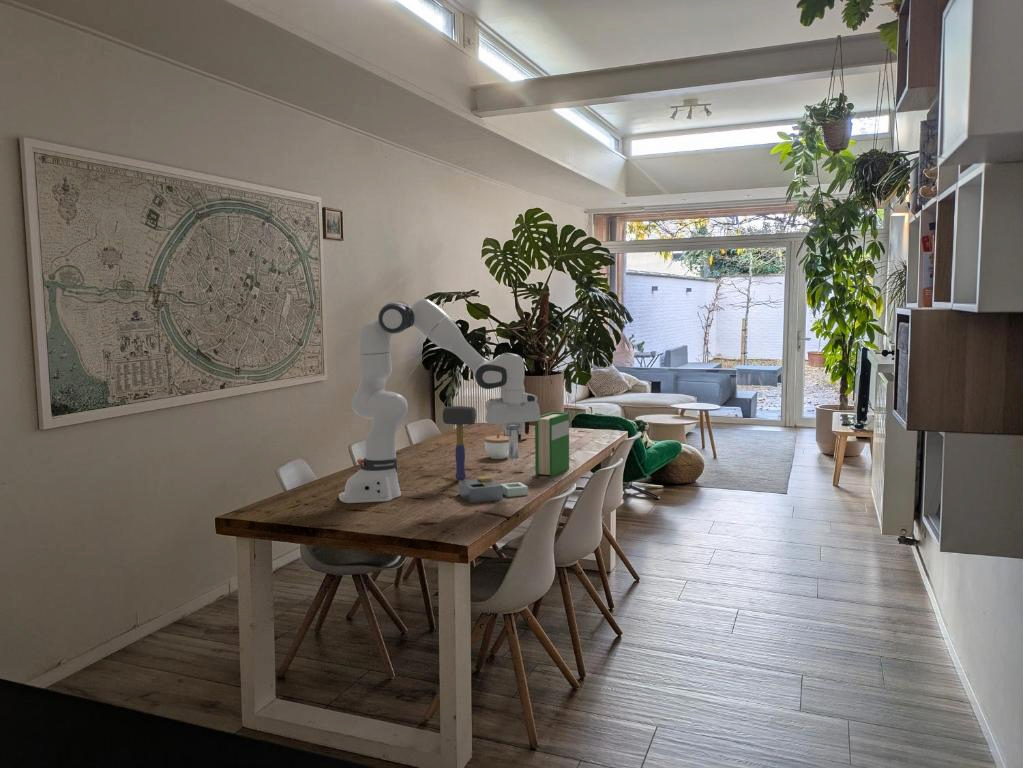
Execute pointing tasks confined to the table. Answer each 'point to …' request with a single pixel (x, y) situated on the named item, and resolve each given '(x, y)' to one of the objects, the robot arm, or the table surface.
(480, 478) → the gold rectangular block
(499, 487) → the socket block
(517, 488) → the pale green square frame
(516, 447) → the metal cylindrical peg
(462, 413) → the rubber mallet
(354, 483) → the robot arm
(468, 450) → the table surface
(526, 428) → the milk frother
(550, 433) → the hardback book
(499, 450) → the lidded bowl
